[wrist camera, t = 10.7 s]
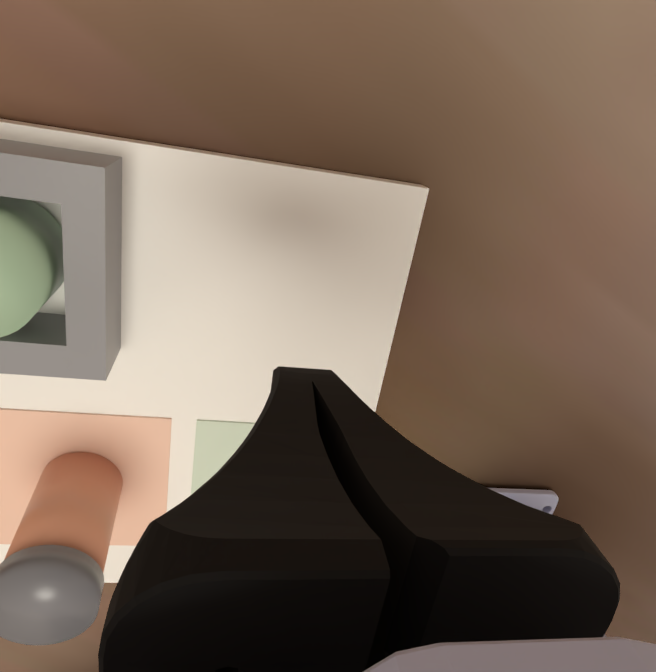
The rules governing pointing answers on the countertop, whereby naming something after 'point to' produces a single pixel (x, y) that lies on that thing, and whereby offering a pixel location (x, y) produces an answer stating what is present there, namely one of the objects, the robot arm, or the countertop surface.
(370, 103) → the countertop surface
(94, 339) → the white sorting board
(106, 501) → the cylinder
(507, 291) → the countertop surface
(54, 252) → the button
